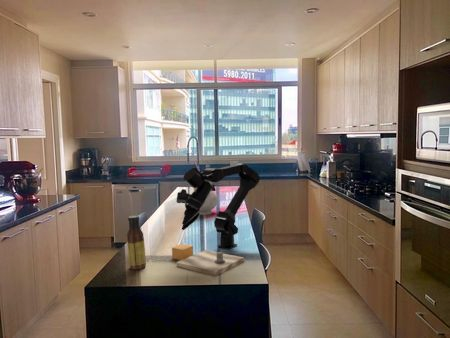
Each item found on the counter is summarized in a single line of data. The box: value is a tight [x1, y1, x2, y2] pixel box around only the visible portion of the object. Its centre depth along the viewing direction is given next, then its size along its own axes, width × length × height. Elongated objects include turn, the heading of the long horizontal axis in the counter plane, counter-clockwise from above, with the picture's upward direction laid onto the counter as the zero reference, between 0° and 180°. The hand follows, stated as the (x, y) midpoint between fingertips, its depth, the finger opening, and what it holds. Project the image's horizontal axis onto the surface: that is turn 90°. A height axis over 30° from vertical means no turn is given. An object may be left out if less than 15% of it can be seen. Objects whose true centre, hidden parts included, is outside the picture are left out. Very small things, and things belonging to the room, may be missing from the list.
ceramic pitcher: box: [190, 182, 219, 216], centre depth 238 cm, size 22×20×25 cm
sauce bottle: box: [126, 215, 147, 271], centre depth 139 cm, size 7×6×20 cm
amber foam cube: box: [171, 243, 194, 261], centre depth 150 cm, size 6×6×4 cm
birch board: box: [176, 249, 245, 276], centre depth 142 cm, size 18×19×5 cm
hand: (182, 227), depth 146 cm, fingers open, 9 cm apart
